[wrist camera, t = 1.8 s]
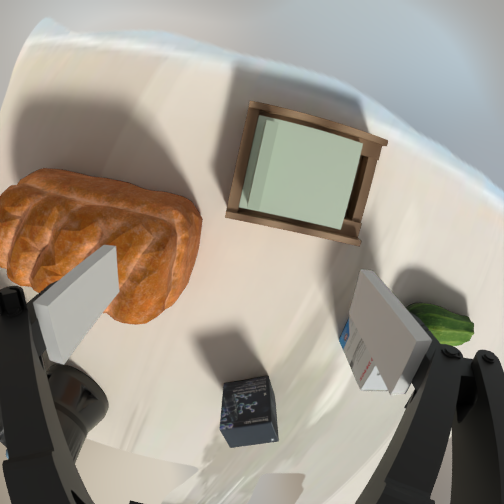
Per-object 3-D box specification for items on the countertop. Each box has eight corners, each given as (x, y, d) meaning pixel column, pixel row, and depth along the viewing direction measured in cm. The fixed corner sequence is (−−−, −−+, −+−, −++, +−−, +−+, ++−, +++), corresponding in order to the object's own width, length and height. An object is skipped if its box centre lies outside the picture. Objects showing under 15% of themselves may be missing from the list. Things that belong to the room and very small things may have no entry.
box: (268, 374, 46) (272, 422, 36) (275, 395, 48) (279, 442, 38) (222, 382, 47) (218, 430, 37) (232, 402, 49) (230, 449, 39)
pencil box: (227, 208, 37) (225, 217, 32) (249, 107, 33) (250, 100, 28) (347, 234, 38) (359, 246, 34) (371, 140, 34) (388, 140, 30)
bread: (43, 162, 34) (-31, 177, 20) (211, 199, 37) (187, 232, 22) (37, 248, 39) (-24, 289, 24) (189, 294, 41) (163, 366, 27)
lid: (238, 205, 33) (237, 212, 30) (258, 115, 30) (260, 111, 26) (338, 228, 34) (348, 237, 31) (360, 143, 31) (373, 143, 27)
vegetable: (424, 329, 34) (493, 343, 37) (414, 288, 39) (483, 310, 42) (392, 353, 39) (465, 362, 42) (386, 314, 44) (457, 331, 47)
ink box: (363, 344, 45) (388, 393, 34) (337, 340, 44) (358, 392, 33) (385, 299, 42) (419, 343, 31) (358, 293, 42) (389, 339, 30)
